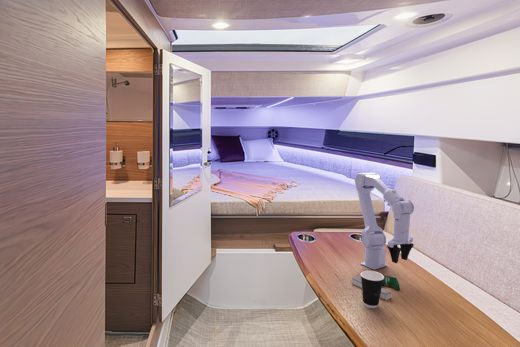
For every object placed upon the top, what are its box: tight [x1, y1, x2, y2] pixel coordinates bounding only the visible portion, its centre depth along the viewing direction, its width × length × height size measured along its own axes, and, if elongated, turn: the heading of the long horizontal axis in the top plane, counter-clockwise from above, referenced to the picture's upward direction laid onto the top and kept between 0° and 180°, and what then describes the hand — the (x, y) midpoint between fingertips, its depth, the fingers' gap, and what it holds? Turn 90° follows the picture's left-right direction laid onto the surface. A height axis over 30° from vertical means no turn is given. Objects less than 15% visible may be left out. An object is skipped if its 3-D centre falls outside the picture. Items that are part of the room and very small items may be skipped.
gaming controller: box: [382, 275, 401, 291], centre depth 128 cm, size 9×4×6 cm
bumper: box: [351, 276, 392, 301], centre depth 123 cm, size 3×16×2 cm, turn 33°
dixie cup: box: [360, 270, 385, 309], centre depth 112 cm, size 8×8×11 cm
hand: (399, 260), depth 132 cm, fingers open, 6 cm apart
